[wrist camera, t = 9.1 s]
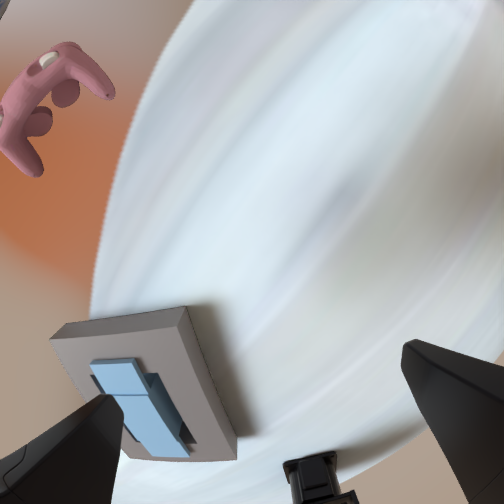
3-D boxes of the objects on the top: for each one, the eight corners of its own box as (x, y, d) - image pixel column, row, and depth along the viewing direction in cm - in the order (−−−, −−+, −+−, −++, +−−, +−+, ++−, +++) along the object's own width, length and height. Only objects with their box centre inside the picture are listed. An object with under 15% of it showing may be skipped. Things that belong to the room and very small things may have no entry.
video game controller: (113, 71, 16) (62, 23, 9) (124, 95, 15) (61, 38, 8) (36, 152, 17) (-19, 123, 10) (38, 186, 16) (-28, 159, 9)
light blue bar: (147, 335, 20) (130, 364, 16) (194, 429, 23) (189, 459, 19) (108, 339, 20) (87, 366, 16) (159, 429, 23) (151, 457, 19)
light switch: (237, 437, 23) (236, 459, 20) (136, 439, 23) (129, 458, 20) (185, 305, 19) (176, 326, 16) (66, 323, 19) (48, 339, 16)
